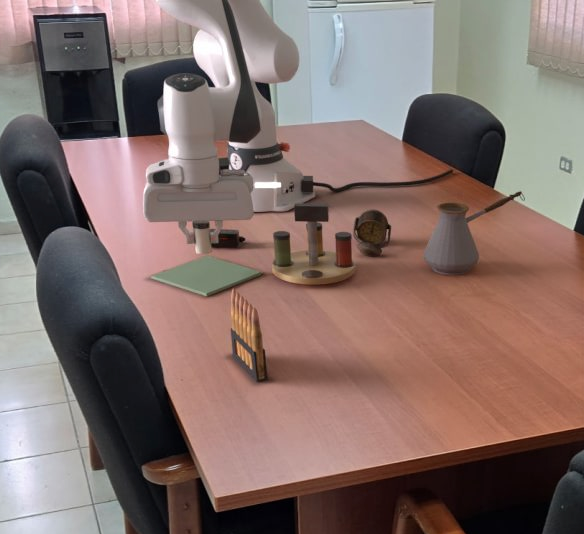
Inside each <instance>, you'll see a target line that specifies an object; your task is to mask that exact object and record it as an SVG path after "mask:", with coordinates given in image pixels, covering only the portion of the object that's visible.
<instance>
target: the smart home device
mask: <svg viewBox="0 0 584 534" xmlns="http://www.w3.org/2000/svg"><path fill="white" fill-rule="evenodd" d="M218 160H219V169H223V170H225V169H228V170H229V165H230V163H229V160H228V156H227V157H218Z"/></svg>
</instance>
